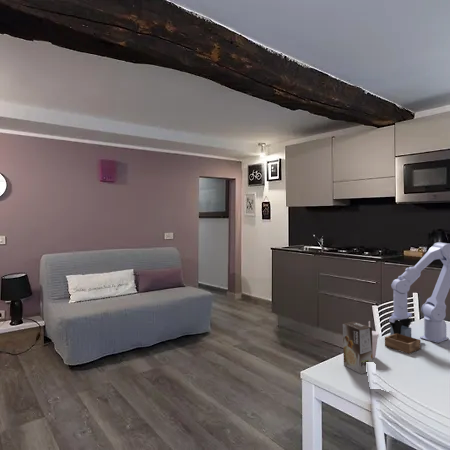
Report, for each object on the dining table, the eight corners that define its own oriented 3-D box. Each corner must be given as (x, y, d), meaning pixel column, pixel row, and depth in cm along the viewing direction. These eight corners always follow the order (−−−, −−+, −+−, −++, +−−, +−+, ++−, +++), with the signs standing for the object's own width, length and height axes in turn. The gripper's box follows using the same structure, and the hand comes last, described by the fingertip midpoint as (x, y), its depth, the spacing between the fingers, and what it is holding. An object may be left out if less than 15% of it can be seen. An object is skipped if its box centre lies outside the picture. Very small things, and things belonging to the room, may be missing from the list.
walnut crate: (396, 342, 156) (396, 333, 156) (420, 349, 147) (420, 339, 147) (384, 346, 152) (384, 337, 152) (408, 354, 143) (408, 344, 143)
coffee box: (374, 371, 128) (373, 327, 127) (360, 374, 125) (359, 330, 125) (355, 361, 136) (354, 320, 136) (342, 364, 134) (341, 323, 133)
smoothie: (375, 353, 144) (375, 319, 144) (381, 359, 138) (380, 324, 137) (359, 353, 145) (359, 319, 144) (364, 359, 138) (363, 324, 138)
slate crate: (396, 335, 164) (396, 324, 164) (411, 340, 158) (411, 327, 158) (390, 337, 162) (390, 326, 161) (405, 342, 156) (404, 330, 155)
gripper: (401, 301, 167) (401, 329, 167) (382, 306, 159) (383, 335, 159) (415, 304, 161) (416, 333, 161) (397, 309, 153) (397, 340, 153)
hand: (400, 335), depth 160 cm, fingers closed on slate crate, 5 cm apart
